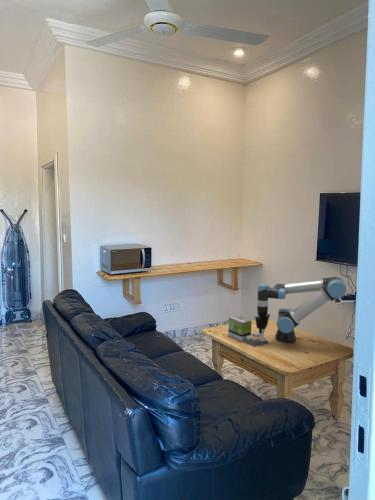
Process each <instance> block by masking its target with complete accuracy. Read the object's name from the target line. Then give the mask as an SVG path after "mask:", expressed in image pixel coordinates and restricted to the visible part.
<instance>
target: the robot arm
mask: <svg viewBox="0 0 375 500" xmlns="http://www.w3.org/2000/svg"><path fill="white" fill-rule="evenodd" d="M313 292H316V293H315V294H314V295H313V296H311V297H310V298H308V299H307V300H306V301H304V302H303V303H301V304H300V305H298V306H297V307H295V309H292V308H279V309H278V311H277V313H278V315H277V316H278V317H277V321H276V327H277V331H276V333H275V336H274V337H275V338H274V339H275V340H276V341H277V342H280V343H287V344H288V343H289V344H292V343H295V342H296V341H297V336H296V332H295V328H296V327H298V326H299V325H300V323H301V321H303V320H304V319H305V318H306V317H308V316H309V315H311V314H312V313H314V312H315V311H317V310H318V309H320V308H321V307H322V306H324V305H325V304H326V303H328V302H333V301H335V300H337V299H340V298H342V297H344V296H345V294H346V292H347V286H346V284H345V282H344V280H343V279H341V278H340V277H338V276H331V277H330V276H329V277H323V278H321V279H318V280H310V281H309V280H308V281H300V282H290V283H282V284H281V283H276V284H275V285H274V286H273V287H270V286H269V284H268V283H267V284H266V283H260V284H258V285H257V304H256V305H257V306H256V311H257V313H256V315H254V320H255V324H256V329H258V334H260V336H259V337H260V338H265V336H264V335H265V330H266V328H268V323H269V318H270V317H271V314H269V313H268V311H269V309H268V308H269V299H276V300H285V299H286V295H289V294H290V295H291V294H301V293H313Z"/></svg>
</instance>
